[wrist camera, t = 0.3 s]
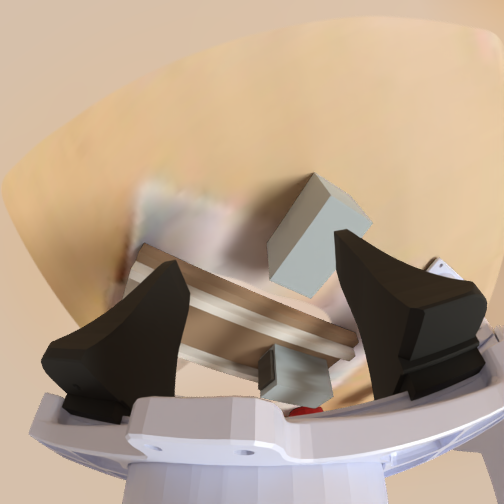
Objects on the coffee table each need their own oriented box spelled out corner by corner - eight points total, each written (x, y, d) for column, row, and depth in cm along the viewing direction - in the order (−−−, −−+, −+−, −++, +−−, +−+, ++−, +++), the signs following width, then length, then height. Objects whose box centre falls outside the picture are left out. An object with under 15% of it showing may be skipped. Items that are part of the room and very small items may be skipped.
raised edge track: (355, 332, 29) (370, 379, 23) (299, 380, 34) (304, 422, 28) (144, 242, 23) (115, 290, 17) (121, 317, 28) (101, 362, 22)
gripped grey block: (349, 194, 20) (372, 222, 16) (299, 263, 24) (307, 302, 20) (314, 171, 20) (331, 195, 15) (264, 246, 23) (266, 284, 19)
